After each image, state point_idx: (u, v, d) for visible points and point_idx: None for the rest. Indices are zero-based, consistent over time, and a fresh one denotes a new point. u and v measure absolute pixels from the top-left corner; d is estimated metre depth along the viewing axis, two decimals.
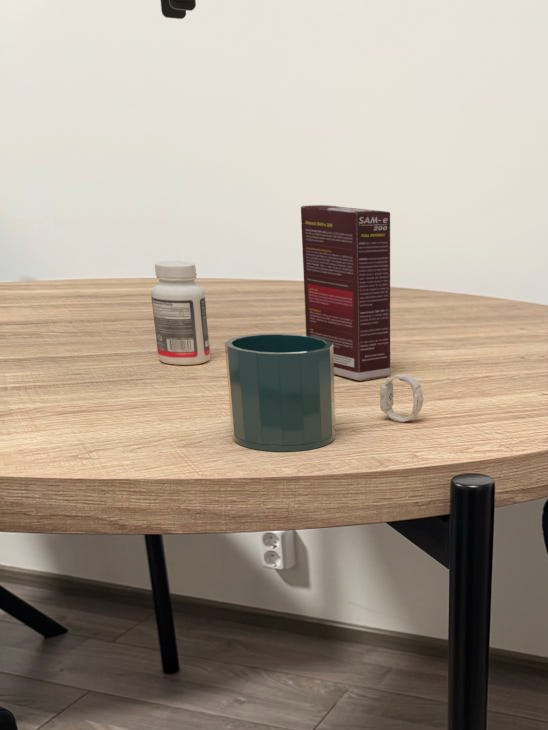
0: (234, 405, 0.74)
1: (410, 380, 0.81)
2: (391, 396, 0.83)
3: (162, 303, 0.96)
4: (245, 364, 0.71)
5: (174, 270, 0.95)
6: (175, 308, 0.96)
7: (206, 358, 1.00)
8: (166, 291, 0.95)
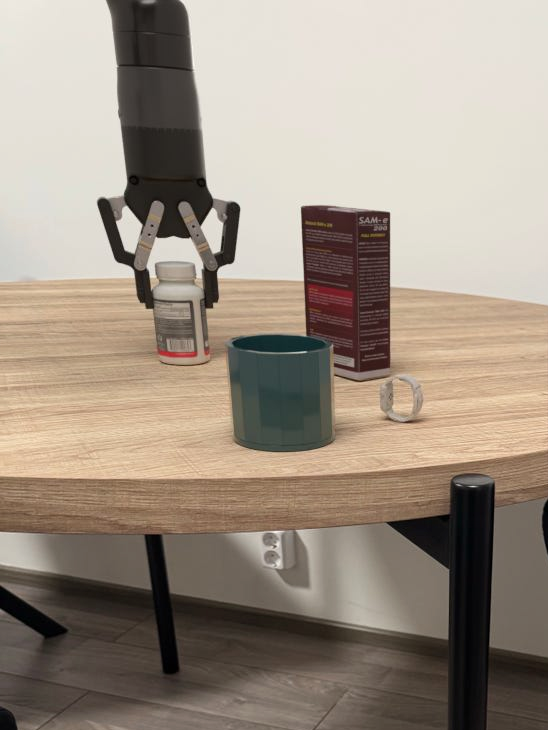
0: (234, 405, 0.74)
1: (410, 380, 0.81)
2: (391, 396, 0.83)
3: (162, 303, 0.96)
4: (245, 364, 0.71)
5: (174, 270, 0.95)
6: (175, 308, 0.96)
7: (206, 358, 1.00)
8: (166, 291, 0.95)
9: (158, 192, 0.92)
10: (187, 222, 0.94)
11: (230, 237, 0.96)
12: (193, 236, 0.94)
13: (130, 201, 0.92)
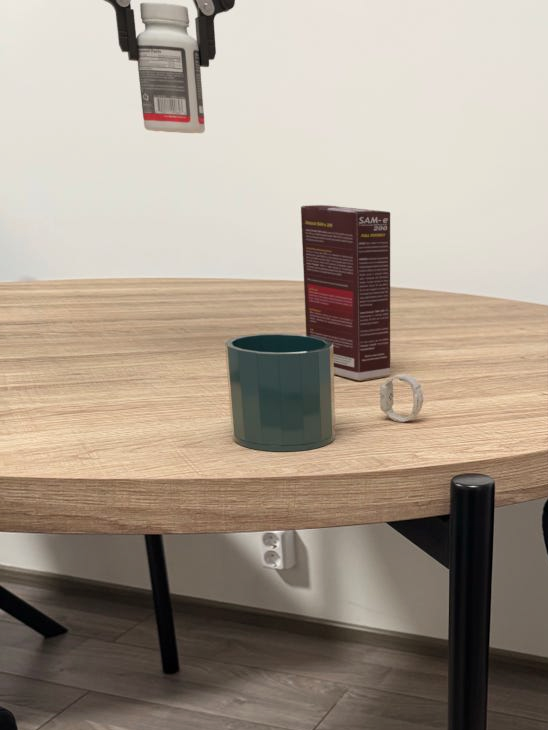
0: (234, 405, 0.74)
1: (410, 380, 0.81)
2: (391, 396, 0.83)
3: (148, 50, 0.81)
4: (245, 364, 0.71)
5: (163, 9, 0.80)
6: (164, 56, 0.81)
7: (200, 128, 0.86)
8: (154, 35, 0.81)
9: None
10: None
11: None
12: None
13: None
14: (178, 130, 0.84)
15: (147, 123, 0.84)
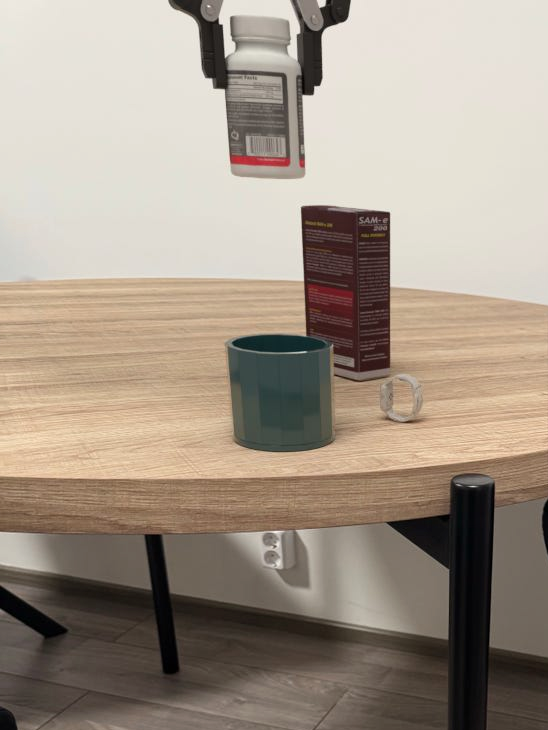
0: (234, 405, 0.74)
1: (410, 380, 0.81)
2: (391, 396, 0.83)
3: (241, 76, 0.63)
4: (245, 364, 0.71)
5: (261, 24, 0.63)
6: (261, 84, 0.64)
7: (301, 172, 0.68)
8: (249, 56, 0.63)
9: None
10: None
11: None
12: None
13: None
14: (275, 176, 0.66)
15: (236, 168, 0.67)
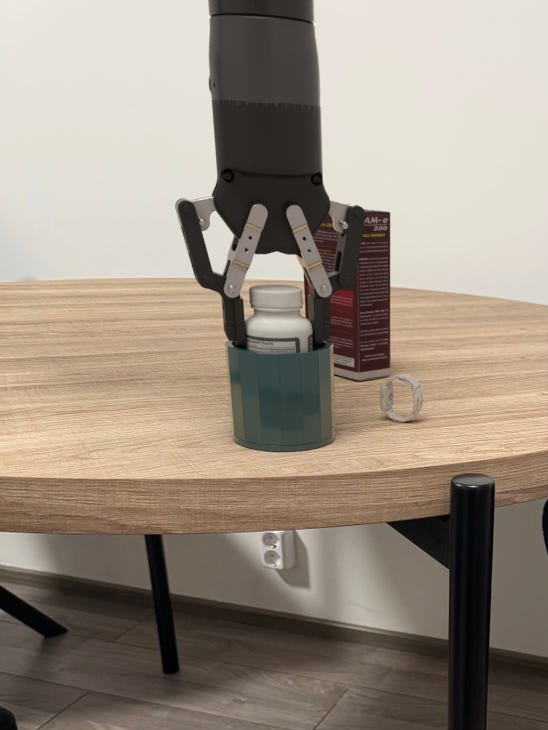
0: (234, 405, 0.74)
1: (410, 380, 0.81)
2: (391, 396, 0.83)
3: (259, 341, 0.71)
4: (245, 364, 0.71)
5: (277, 298, 0.70)
6: (276, 348, 0.71)
7: None
8: (266, 326, 0.71)
9: (259, 192, 0.68)
10: (296, 232, 0.69)
11: (350, 253, 0.71)
12: (303, 252, 0.70)
13: (222, 204, 0.67)
14: None
15: None
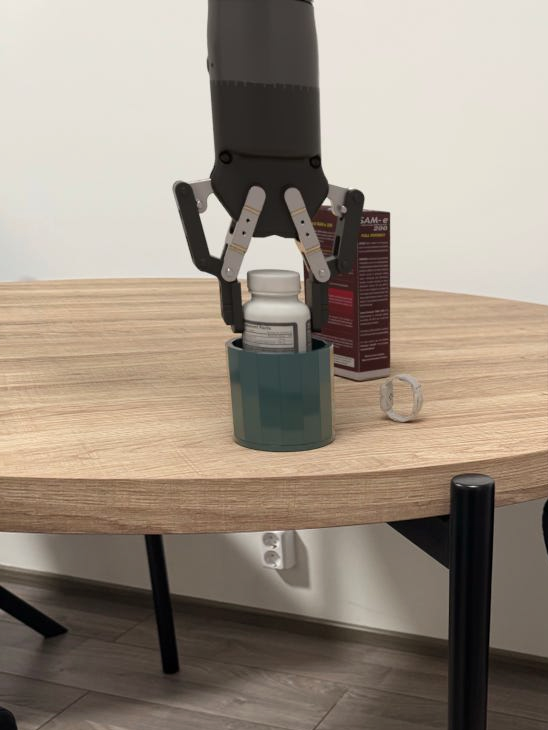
0: (234, 405, 0.74)
1: (410, 380, 0.81)
2: (391, 396, 0.83)
3: (256, 326, 0.71)
4: (245, 364, 0.71)
5: (275, 282, 0.70)
6: (274, 333, 0.71)
7: None
8: (263, 310, 0.70)
9: (257, 174, 0.67)
10: (294, 216, 0.68)
11: (349, 237, 0.71)
12: (301, 235, 0.69)
13: (219, 186, 0.66)
14: None
15: None
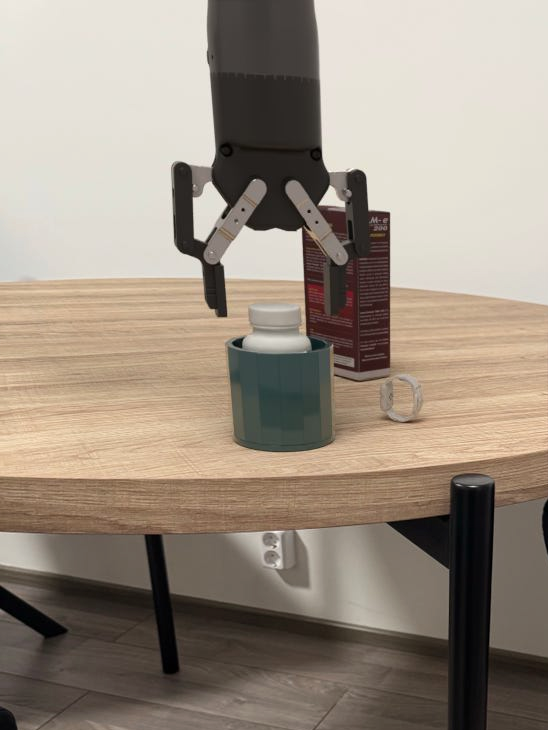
0: (234, 405, 0.74)
1: (410, 380, 0.81)
2: (391, 396, 0.83)
3: None
4: (245, 364, 0.71)
5: (276, 317, 0.71)
6: None
7: None
8: (265, 344, 0.71)
9: (258, 167, 0.67)
10: (300, 207, 0.68)
11: (360, 219, 0.71)
12: (311, 225, 0.69)
13: (220, 179, 0.66)
14: None
15: None
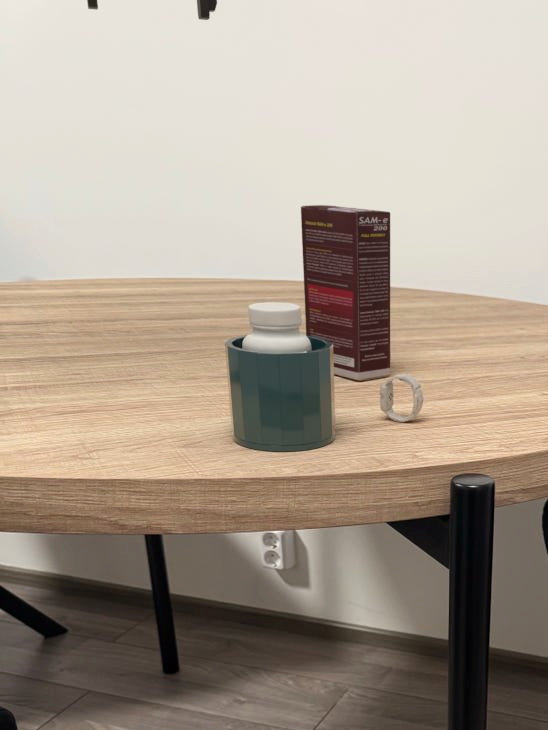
0: (234, 405, 0.74)
1: (410, 380, 0.81)
2: (391, 396, 0.83)
3: None
4: (245, 364, 0.71)
5: (276, 317, 0.71)
6: None
7: None
8: (265, 344, 0.71)
9: None
10: None
11: None
12: None
13: None
14: None
15: None
